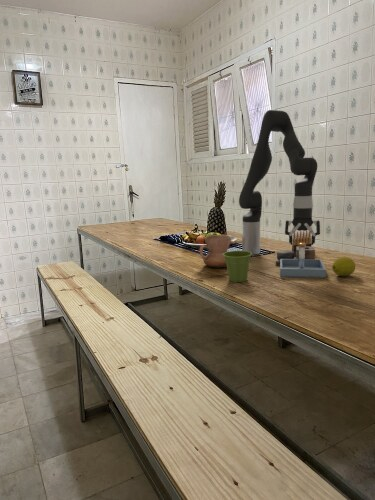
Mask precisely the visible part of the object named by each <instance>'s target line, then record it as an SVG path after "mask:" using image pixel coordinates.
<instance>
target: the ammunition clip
mask: <svg viewBox="0 0 375 500" xmlns="http://www.w3.org/2000/svg"><path fill="white" fill-rule="evenodd" d="M292 236H293V240H292V245H291V251H293V252H294V254H296V247H299V246H298V243H306V246H305V247H312V245H311V236H312V234H311V233H310V232H309V231H308V230H306V231H303V230H301V231H295V232H294V234H293V235H292Z"/></svg>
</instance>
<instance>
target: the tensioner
mask: <svg viewBox="0 0 375 500" xmlns="http://www.w3.org/2000/svg"><path fill="white" fill-rule="evenodd" d="M280 259H299V247H296V254H294V252H293V251H292V250H278V251H276V255H275V266H280ZM305 259H316V249H315V247H314V246H311V247H305Z"/></svg>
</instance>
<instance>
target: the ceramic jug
mask: <svg viewBox="0 0 375 500" xmlns="http://www.w3.org/2000/svg"><path fill="white" fill-rule="evenodd" d="M204 242H205V244H202V245H200V246H199V255H200V257H201V258H202V260H203V264H204V265H206V266H208V267H211V268H219V269H221V268H227V265H226V261H225V258H224V256H223V253H225V252H228V250H229V247H230V245H231V244H232V245H235V244H236V243H235V241H234V240H232V236H231V235H229V234H215V235H209V236H205V237H204ZM205 248H206V249H208V251H209V252H208V253H207V254H206V255H204V249H205Z"/></svg>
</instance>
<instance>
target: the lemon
mask: <svg viewBox="0 0 375 500" xmlns="http://www.w3.org/2000/svg"><path fill="white" fill-rule="evenodd" d="M331 268H332V271H333V273H334V274H335V275H337V276H340V277H349V276H350V275H352V274H353V273H354V272H355V271H356V262H355V261H354V260H353V259H352V258H350V257H347V256H341V257H338V258H336V259H335V260H334V262H333V263H332V266H331Z"/></svg>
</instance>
